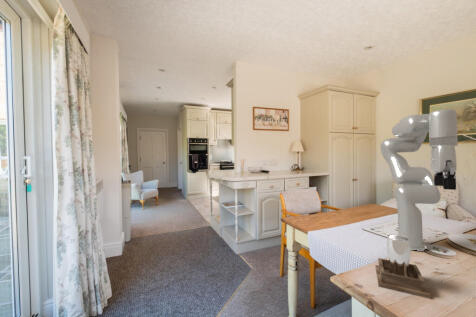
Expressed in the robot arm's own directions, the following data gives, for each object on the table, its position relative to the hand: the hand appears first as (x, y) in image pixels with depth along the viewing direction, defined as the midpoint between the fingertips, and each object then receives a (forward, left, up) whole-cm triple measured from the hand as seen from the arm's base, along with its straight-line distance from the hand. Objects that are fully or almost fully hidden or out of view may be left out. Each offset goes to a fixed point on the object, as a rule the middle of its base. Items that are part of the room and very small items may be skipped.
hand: (444, 187), depth 77 cm
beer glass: (+11, -16, -33) cm, 38 cm away
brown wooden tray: (+11, -16, -34) cm, 39 cm away
